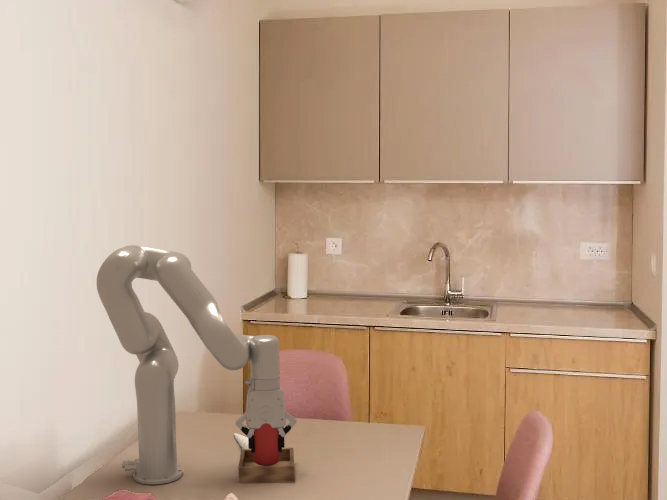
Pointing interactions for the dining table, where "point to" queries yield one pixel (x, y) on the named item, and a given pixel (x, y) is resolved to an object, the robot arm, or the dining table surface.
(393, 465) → the dining table surface
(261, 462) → the beer can
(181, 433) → the dining table surface
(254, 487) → the dining table surface
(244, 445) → the unicorn horn
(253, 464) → the crate
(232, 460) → the dining table surface
